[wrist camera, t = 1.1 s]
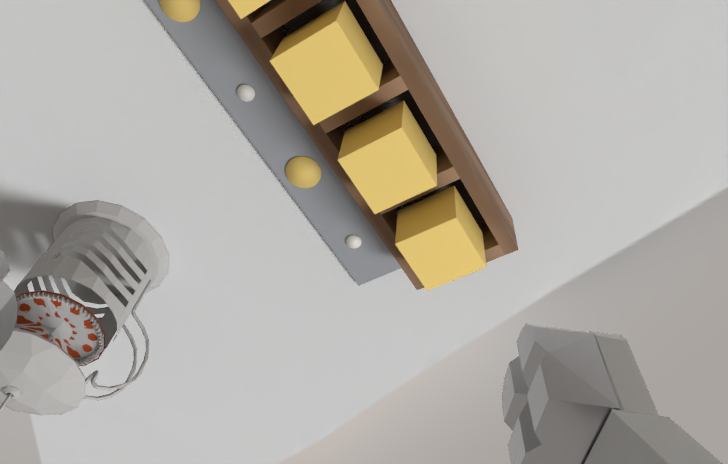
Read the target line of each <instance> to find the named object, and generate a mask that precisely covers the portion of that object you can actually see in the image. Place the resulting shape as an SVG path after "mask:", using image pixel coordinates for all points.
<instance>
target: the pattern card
mask: <svg viewBox="0 0 728 464" xmlns="http://www.w3.org/2000/svg"><path fill="white" fill-rule="evenodd" d="M144 1H145V2H146V3H147V5H148V6H149V7H150V9H151V10H152V11H153V13H154V14H155V15H156V17H157V18H158V19H159V21H160V22H161V23H162V25H163V26H164V27H165V29H166V30H167V31H168V33H169V34H170V35H171V37H172V38H173V39H174V41H175V42H176V43H177V45H178V46H179V47H180V48H181V50H182V51H183V52H184V54H185V55H186V56H187V58H188V59H189V60H190V62H191V63H192V64H193V66H194V67H195V68H196V70H197V71H198V72H199V74H200V75H201V76H202V78H203V79H204V80H205V82H206V83H207V84H208V86H209V87H210V88H211V90H212V91H213V92H214V94H215V95H216V96H217V98H218V99H219V100H220V102H221V103H222V104H223V106H224V107H225V108H226V110H227V111H228V112H229V114H230V115H231V116H232V118H233V119H234V120H235V122H236V123H237V124H238V126H239V127H240V128H241V130H242V131H243V132H244V134H245V135H246V136H247V138H248V139H249V140H250V142H251V143H252V144H253V146H254V147H255V148H256V150H257V151H258V152H259V154H260V155H261V156H262V158H263V159H264V160H265V162H266V163H267V164H268V166H269V167H270V168H271V170H272V171H273V172H274V174H275V175H276V176H277V178H278V179H279V180H280V182H281V183H282V184H283V186H284V187H285V188H286V190H287V191H288V192H289V194H290V195H291V196H292V198H293V199H294V200H295V202H296V203H297V204H298V206H299V207H300V208H301V210H302V211H303V212H304V214H305V215H306V216H307V217H308V219H309V220H310V221H311V223H312V224H313V225H314V227H315V228H316V229H317V231H318V232H319V233H320V235H321V236H322V237H323V239H324V240H325V241H326V243H327V244H328V245H329V247H330V248H331V249H332V251H333V252H334V253H335V255H336V256H337V257H338V259H339V260H340V261H341V263H342V264H343V265H344V267H345V268H346V269H347V271H348V272H349V273H350V275H351V276H352V277H353V279H354V280H355V281H356V283H357V284H358V285H361V284H364V283H366V282H369V281H371V280H373V279H376V278H378V277H381V276H383V275H385V274H388V273H390V272H393V271H395V270H397V269H400V268H401V266H400V265H399V263H398V262H397V260H396V259H395V258H394V256H393V255H392V253H391V252H390V250H389V249H388V247H387V246H386V245H385V243H384V242H383V240H382V239H381V237H380V236H379V235H378V233H377V232H376V230H375V229H374V227H373V226H372V224H371V223H370V222H369V220H368V219H367V217H366V216H365V214H364V213H363V211H362V210H361V209H360V207H359V206H358V204H357V203H356V201H355V200H354V199H353V197H352V196H351V194H350V193H349V191H348V190H347V188H346V187H345V186H344V184H343V183H342V181H341V180H340V178H339V177H338V176H337V174H336V173H335V171H334V170H333V168H332V167H331V165H330V164H329V163H328V161H327V160H326V158H325V157H324V155H323V154H322V152H321V151H320V150H319V148H318V147H317V145H316V144H315V142H314V141H313V140H312V138H311V137H310V135H309V134H308V132H307V131H306V129H305V128H304V127H303V125H302V124H301V122H300V121H299V119H298V118H297V117H296V115H295V114H294V112H293V111H292V109H291V108H290V106H289V105H288V104H287V102H286V101H285V99H284V98H283V96H282V95H281V93H280V92H279V91H278V89H277V88H276V86H275V85H274V83H273V82H272V81H271V79H270V78H269V76H268V75H267V73H266V72H265V70H264V69H263V68H262V66H261V65H260V63H259V62H258V60H257V59H256V58H255V56H254V55H253V53H252V52H251V50H250V49H249V47H248V46H247V45H246V43H245V42H244V40H243V39H242V37H241V36H240V35H239V33H238V32H237V30H236V29H235V27H234V26H233V24H232V23H231V22H230V20H229V19H228V17H227V16H226V14H225V13H224V11H223V10H222V9H221V7H220V6H219V4H218V3H217V1H216V0H144Z"/></svg>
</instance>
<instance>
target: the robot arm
mask: <svg viewBox="0 0 728 464" xmlns="http://www.w3.org/2000/svg"><path fill="white" fill-rule="evenodd" d="M9 271H10V269H9V265H8V261H7V258H6V254H5V253H4V252H3V251H1V250H0V351H1V350H2V348H3V347H4V345H5V344H6V343H7V341H8V340H9V339H10V337H11V335H12V332H13V329H14V326H15V324H16V321H17V307H18V305H17V300H16V295H15V292H14V291H13V290H12V289H11V288H10V287H9V286H8V285H7V284H6V283H5V282H4V281H3V279H4V278H5V276H6V275H7V274H8V272H9ZM517 346H518V352H519V357H517V358H516V359H514V360H513V361H511V362H510V363H509V366H508V369H507V372H506V375H505V378H504V385H503V392H502V408H503V416H504V421H505V422H506V424H507V425H508V426H509V427H510V428H511V429H512V430H513V433H512V435H511V438H510V440H509V443H508V449H509V455H510V461H511V464H722V463H721V462H720V461H719V460H718V459H716V458H715V457H714V456H713V455H712V454H711V453H710V452H708V451H707V450H706V449H705V448H704V447H703V446H702V445H700V444H699V443H698V442H697V441H696V440H695V439H693V438H692V437H691V436H690V435H689V434H688V433H686V432H685V431H684V430H683V429H681V427H679V426H678V425H677V424H676V423H675V422H674V421H672V420H671V419H670V418H669V417H664V416H659V415H658V413H657V410H656V408H655V405H654V403H653V401H652V398H651V396H650V394H649V391H648V389H647V387H646V384H645V382H644V379H643V377H642V375H641V372H640V370H639V368H638V365H637V363H636V361H635V359H634V356H633V353H632V351H631V349H630V346H629V344H628V342H627V340H626V339H625V338H624V337H623V336H622V335H616V334H608V333H599V332H585V331H577V330H570V329H562V328H555V327H548V326H540V325H532V324H525V326H524V327H523V328H522V330H521V332H520V335H519V337H518V340H517Z"/></svg>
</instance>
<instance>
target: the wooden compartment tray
mask: <svg viewBox="0 0 728 464" xmlns="http://www.w3.org/2000/svg"><path fill="white" fill-rule="evenodd" d="M216 1H217V3H218V4H219V6H220V7H221V9H222V10H223V11H224V13H225V14H226V16H227V17H228V19H229V20H230V22H231V23H232V24H233V26H234V27H235V29H236V30H237V32H238V33H239V35H240V36H241V37H242V39H243V40H244V42H245V43H246V45H247V46H248V47H249V49H250V50H251V52H252V53H253V55H254V56H255V58H256V59H257V60H258V62H259V63H260V65H261V66H262V68H263V69H264V70H265V72H266V73H267V75H268V76H269V78H270V79H271V81H272V82H273V83H274V85H275V86H276V88H277V89H278V91H279V92H280V93H281V95H282V96H283V98H284V99H285V101H286V102H287V104H288V105H289V106H290V108H291V109H292V111H293V112H294V114H295V115H296V117H297V118H298V119H299V121H300V122H301V124H302V125H303V127H304V128H305V129H306V131H307V132H308V134H309V135H310V137H311V138H312V140H313V141H314V142H315V144H316V145H317V147H318V148H319V150H320V151H321V152H322V154H323V155H324V157H325V158H326V160H327V161H328V163H329V164H330V165H331V167H332V168H333V170H334V171H335V173H336V174H337V176H338V177H339V178H340V180H341V181H342V183H343V184H344V186H345V187H346V188H347V190H348V191H349V193H350V194H351V196H352V197H353V199H354V200H355V201H356V203H357V204H358V206H359V207H360V209H361V210H362V211H363V213H364V214H365V216H366V217H367V219H368V220H369V222H370V223H371V224H372V226H373V227H374V229H375V230H376V232H377V233H378V235H379V236H380V237H381V239H382V240H383V242H384V243H385V245H386V246H387V247H388V249H389V250H390V252H391V253H392V255H393V256H394V258H395V259H396V260H397V262H398V263H399V265H400V266H401V268H402V269H403V270H404V272H405V273H406V275H407V276H408V278H409V279H410V281H411V282H412V283H413V285H414V286H415V288H416V289H417V290H419V289H421V288H424V286H423V284H422V283H421V281H420V280H419V278H418V277H417V275H416V274H415V272H414V271H413V270H412V268H411V267H410V265H409V264H408V262H407V261H406V259H405V258H404V256H403V255H402V253H401V252H400V251H399V249H398V248H397V246H396V245H395V239H396V226H397V213H398V211H399V210H400V208H399V206H402V205H404V204H406V203H408V202H410V201H412V200H415V199H417V198H419V197H421V196H423V195H426V194H428V193H430V192H432V191H434V190H436V189H439V188H441V187H443V186H445V185H447V184H450V183H452V182H454V181H456V180H458V179H461V181H462V182H463V184H464V186H465V188H466V189H467V191H468V193H469V194H470V196H471V198H472V200H473V201H474V203H475V205H476V206H477V208H478V210H479V212H480V213H481V215H482V217H483V219H480V220H478V221H476V223H477V224H478V226H479V228H480V229H481V231H482V234H483V242H484V250H485V259H486V262H489V261H491V260H494V259H496V258H499V257H501V256H504V255H506V254H509V253H511V252H514V251H516V250H518V246H517V241H516V236H515V231H514V225H513V220H512V217H511V215H510V214H509V212H508V210H507V208H506V206H505V205H504V203H503V201H502V199H501V197H500V196H499V194H498V192H497V190H496V188H495V187H494V185H493V183H492V181H491V179H490V178H489V176H488V174H487V172H486V170H485V169H484V167H483V165H482V163H481V161H480V160H479V158H478V156H477V154H476V153H475V151H474V149H473V147H472V145H471V144H470V142H469V140H468V138H467V136H466V135H465V133H464V131H463V129H462V127H461V126H460V124H459V122H458V120H457V118H456V117H455V115H454V113H453V111H452V109H451V108H450V106H449V104H448V102H447V100H446V99H445V97H444V95H443V93H442V91H441V90H440V88H439V86H438V84H437V82H436V81H435V79H434V77H433V75H432V73H431V72H430V70H429V68H428V66H427V64H426V63H425V61H424V59H423V57H422V55H421V54H420V52H419V50H418V48H417V46H416V45H415V43H414V41H413V39H412V38H411V36H410V34H409V32H408V30H407V29H406V27H405V25H404V23H403V21H402V20H401V18H400V16H399V14H398V12H397V11H396V9H395V7H394V5H393V3H392V2H391V0H356V1H357V3H358V4H359V6H360V8H361V9H362V11H363V13H364V15H365V16H366V18H367V20H368V21H369V23H370V25H371V27H372V28H373V30H374V32H375V33H376V35H377V37H378V39H379V40H380V42H381V44H382V45H383V47H384V49H385V51H386V52H387V54H388V56H389V57H390V59H391V60H390V61H388V62H386V63H385V64H383V68H382V74H381V79H380V85H379V90H378V91H376V92H374V93H372V94H370V95H369V96H367V97H365V98H363V99H361V100H359V101H357V102H356V103H354V104H352V105H350V106H348V107H346V108H344V109H343V110H341V111H339V112H337V113H335V114H333V115H332V116H330V117H328V118H326V119H324V120H322V121H320V122H319V123H317V124H315V125H313V124H312V122H311V121H310V119H309V118H308V116H307V115H306V113H305V112H304V110H303V109H302V108H301V106H300V105H299V103H298V102H297V100H296V99H295V97H294V96H293V94H292V93H291V92H290V90H289V89H288V87H287V86H286V84H285V83H284V81H283V80H282V78H281V77H280V75H279V74H278V73H277V71H276V70H275V68H274V67H273V65H272V64H271V62H270V59H271V58H272V56H273V54H274V53H275V51H276V49H277V48H278V46H279V44H280V43H281V41H282V39H283V38H284V37H286V35H285V33H284V32H283V30H282V29H281V27H280V26H282V25H284V24H285V23H287V22H288V21H290V20H292V19H293V18H295V17H297V16H298V15H300V14H301V13H303V12H305V11H306V10H308V9H309V8H311V7H313V6H314V5H316V4H317V3H319V2H321V1H322V0H273V1H271V2H270V3H268V4H264V5H263V6H261V7H259V8H258V9H256V10H255V11H253V12H252V13H250V14H249V15H247V16H245V17H244V18H242V19H240V17H239V16H238V14H237V13H236V11H235V10H234V8H233V7H232V5H231V4H230V2H229V1H228V0H216ZM407 90H409V92H410V93H411V95H412V97H413V99H414V100H415V102H416V104H417V105H418V107H419V109H420V111H421V112H422V114H423V116H424V117H425V119H426V121H427V123H428V124H429V126H430V128H431V129H432V131H433V133H434V134H435V136H436V138H437V140H438V141H439V143H440V145H439V146H437V147H435V148H433V150H434V152H435V154H436V160H437V186H435V187H433V188H431V189H429V190H427V191H425V192H422V193H420V194H418V195H416V196H414V197H412V198H409V199H407V200H405V201H403V202H401V203H399V204H396V205H394V206H392V207H390V208H388V209H385V210H383V211H381V212H379V213H377V214H374V213H373V211H372V210H371V208H370V207H369V205H368V204H367V202H366V201H365V199H364V198H363V197H362V195H361V194H360V192H359V191H358V189H357V188H356V186H355V185H354V183H353V182H352V181H351V179H350V178H349V176H348V175H347V173H346V172H345V170H344V169H343V167H342V166H341V164H340V163H339V162H338V156H339V152H340V148H341V144H342V140H343V136H344V132H345V131H346V130H348V129H347V127H346V126H345V123H347V122H348V121H350V120H352V119H354V118H356V117H358V116H360V115H362V114H364V113H365V112H367V111H369V110H371V109H373V108H375V107H377V106H379V105H381V104H382V103H384V102H386V101H388V100H390V99H392V98H394V97H396V96H397V95H399V94H401V93H403V92H405V91H407Z"/></svg>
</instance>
